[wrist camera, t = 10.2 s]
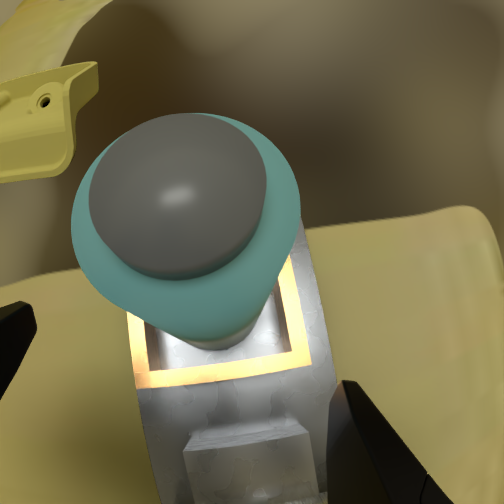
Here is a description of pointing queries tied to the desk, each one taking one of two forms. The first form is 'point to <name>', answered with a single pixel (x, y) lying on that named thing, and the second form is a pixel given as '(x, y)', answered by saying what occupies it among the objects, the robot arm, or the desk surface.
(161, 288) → the teal cylinder grey dome
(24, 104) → the plastic component
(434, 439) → the desk surface
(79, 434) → the desk surface
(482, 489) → the desk surface
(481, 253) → the desk surface
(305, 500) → the motor assembly
